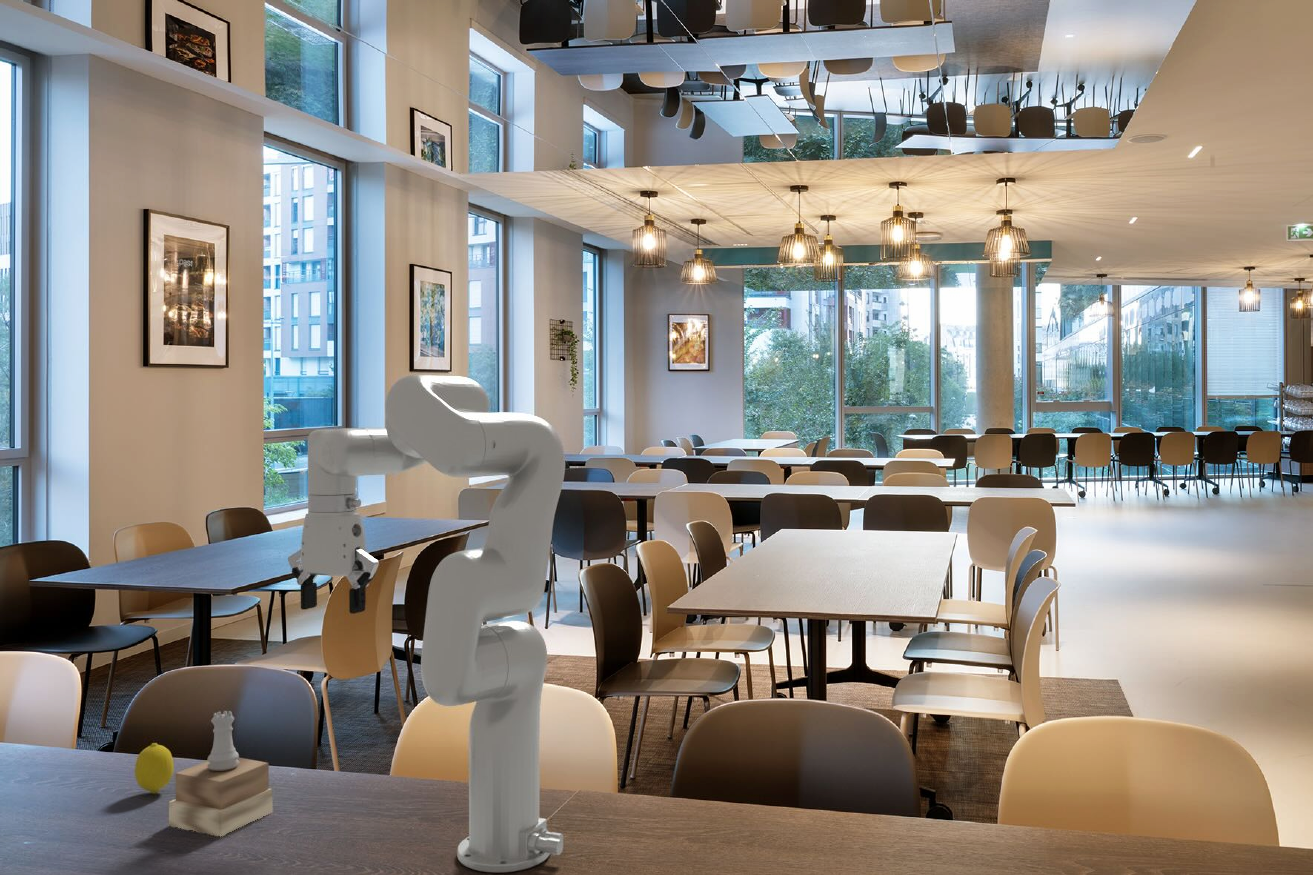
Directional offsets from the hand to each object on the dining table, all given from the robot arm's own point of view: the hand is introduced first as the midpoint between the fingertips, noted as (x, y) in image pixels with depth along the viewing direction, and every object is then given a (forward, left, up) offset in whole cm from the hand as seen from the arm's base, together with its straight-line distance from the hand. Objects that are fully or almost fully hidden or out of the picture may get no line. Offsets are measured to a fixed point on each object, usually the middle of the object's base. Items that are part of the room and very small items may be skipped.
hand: (332, 610), depth 169 cm
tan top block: (+5, +19, -25) cm, 31 cm away
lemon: (+23, +15, -28) cm, 39 cm away
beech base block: (+5, +19, -29) cm, 35 cm away
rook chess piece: (+5, +19, -21) cm, 28 cm away
